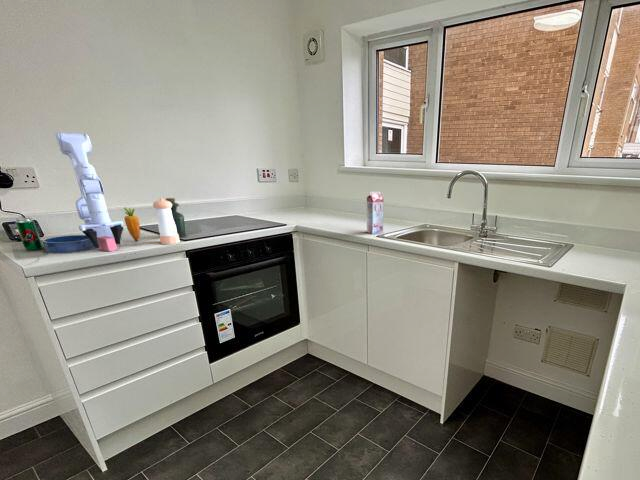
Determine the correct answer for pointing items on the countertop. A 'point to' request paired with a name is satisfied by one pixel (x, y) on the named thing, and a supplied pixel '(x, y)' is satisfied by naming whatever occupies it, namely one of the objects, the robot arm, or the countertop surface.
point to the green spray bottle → (177, 218)
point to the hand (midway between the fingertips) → (107, 246)
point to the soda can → (29, 234)
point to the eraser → (107, 243)
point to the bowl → (67, 244)
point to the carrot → (132, 224)
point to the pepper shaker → (166, 222)
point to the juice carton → (375, 213)
